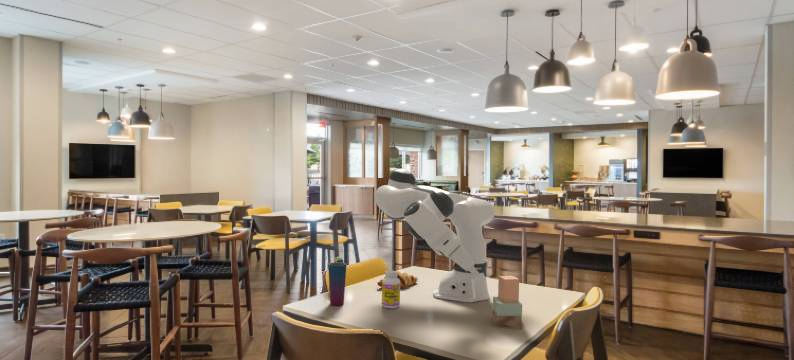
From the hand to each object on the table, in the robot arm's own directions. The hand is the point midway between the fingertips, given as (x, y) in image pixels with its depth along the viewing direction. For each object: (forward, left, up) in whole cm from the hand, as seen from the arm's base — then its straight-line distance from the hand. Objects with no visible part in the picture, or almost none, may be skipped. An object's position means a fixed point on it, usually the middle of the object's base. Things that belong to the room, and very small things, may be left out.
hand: (473, 271), depth 147 cm
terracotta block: (+12, +4, -10) cm, 16 cm away
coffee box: (-57, +28, -18) cm, 66 cm away
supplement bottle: (-30, +11, -18) cm, 37 cm away
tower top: (+11, +4, -14) cm, 18 cm away
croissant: (-34, +41, -18) cm, 56 cm away
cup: (-50, +8, -18) cm, 54 cm away
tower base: (+11, +4, -18) cm, 21 cm away
